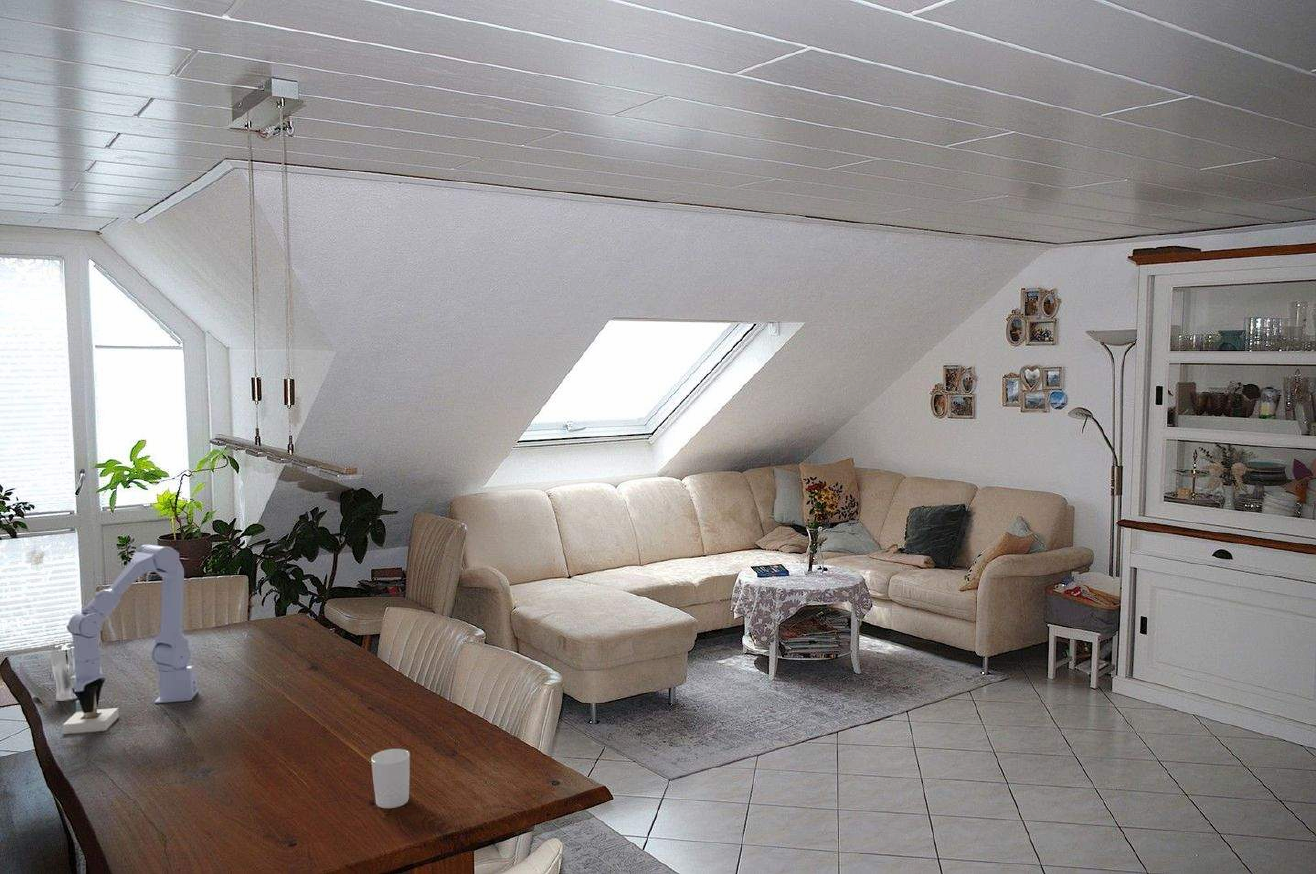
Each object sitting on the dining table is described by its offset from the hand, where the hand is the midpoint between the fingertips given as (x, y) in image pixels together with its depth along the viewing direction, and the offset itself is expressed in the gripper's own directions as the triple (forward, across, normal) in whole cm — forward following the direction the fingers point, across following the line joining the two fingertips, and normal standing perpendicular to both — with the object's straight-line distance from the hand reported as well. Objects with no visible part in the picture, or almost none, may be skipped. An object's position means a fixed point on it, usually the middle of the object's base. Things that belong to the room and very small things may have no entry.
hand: (90, 709), depth 260 cm
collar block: (+4, 0, 0) cm, 4 cm away
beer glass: (+4, -26, -14) cm, 30 cm away
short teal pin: (+4, -8, -4) cm, 10 cm away
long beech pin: (+3, 0, 0) cm, 3 cm away
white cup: (+4, +66, +80) cm, 105 cm away
